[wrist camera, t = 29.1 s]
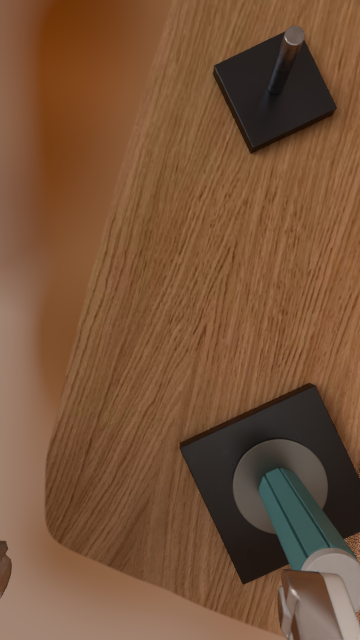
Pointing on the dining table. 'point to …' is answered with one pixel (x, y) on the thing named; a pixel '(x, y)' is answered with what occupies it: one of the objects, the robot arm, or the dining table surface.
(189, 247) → the dining table surface
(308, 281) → the dining table surface
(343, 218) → the dining table surface
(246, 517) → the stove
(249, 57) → the black peg stand
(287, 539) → the teal ribbed pillar
